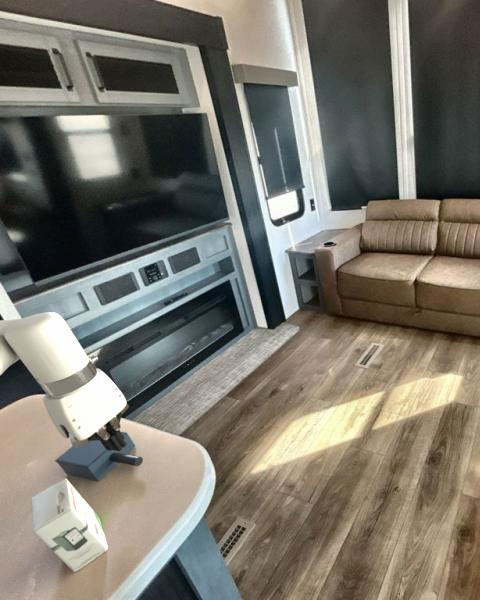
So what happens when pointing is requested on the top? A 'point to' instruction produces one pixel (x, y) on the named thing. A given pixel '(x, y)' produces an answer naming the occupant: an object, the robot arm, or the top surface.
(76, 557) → the ink box
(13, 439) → the top surface
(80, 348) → the robot arm
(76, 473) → the dustpan
